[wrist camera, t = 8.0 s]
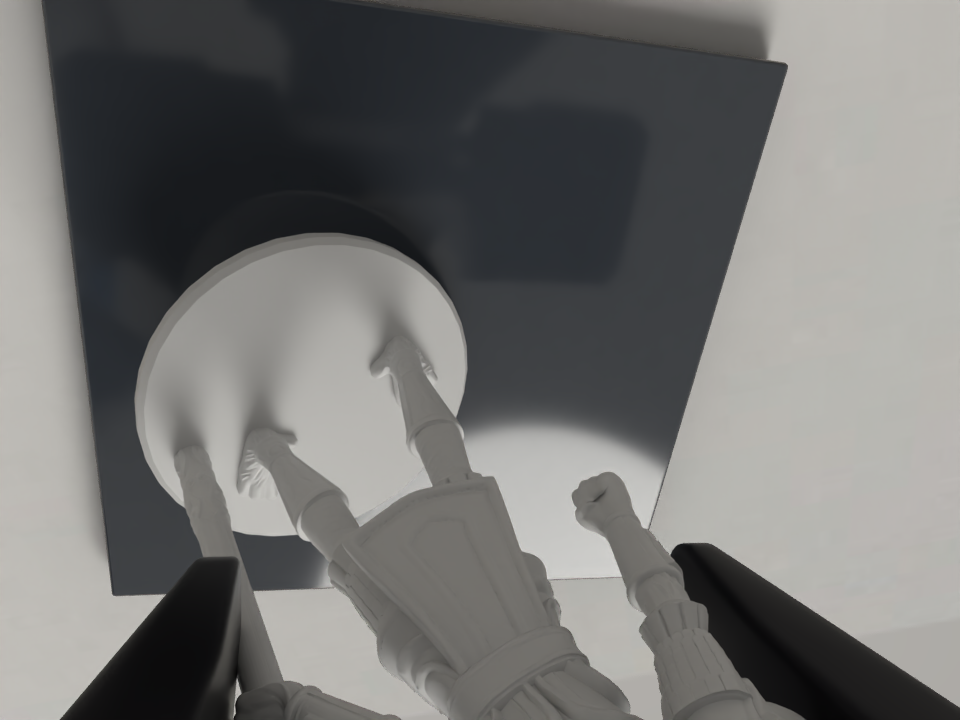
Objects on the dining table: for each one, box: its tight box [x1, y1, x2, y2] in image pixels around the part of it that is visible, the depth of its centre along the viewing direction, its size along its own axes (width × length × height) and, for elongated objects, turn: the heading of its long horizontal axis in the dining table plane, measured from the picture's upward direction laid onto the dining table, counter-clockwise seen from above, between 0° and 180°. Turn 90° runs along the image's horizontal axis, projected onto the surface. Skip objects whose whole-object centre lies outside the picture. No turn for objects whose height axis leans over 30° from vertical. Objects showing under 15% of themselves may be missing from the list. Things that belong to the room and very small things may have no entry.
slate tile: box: [41, 0, 788, 596], centre depth 13 cm, size 11×11×1 cm
